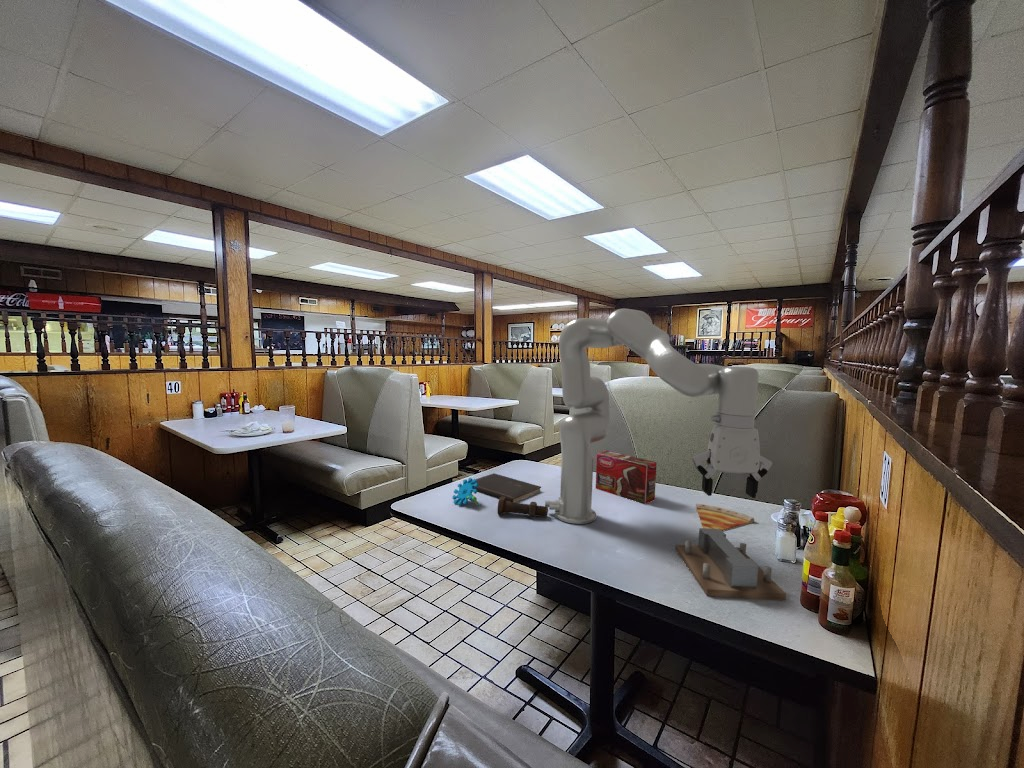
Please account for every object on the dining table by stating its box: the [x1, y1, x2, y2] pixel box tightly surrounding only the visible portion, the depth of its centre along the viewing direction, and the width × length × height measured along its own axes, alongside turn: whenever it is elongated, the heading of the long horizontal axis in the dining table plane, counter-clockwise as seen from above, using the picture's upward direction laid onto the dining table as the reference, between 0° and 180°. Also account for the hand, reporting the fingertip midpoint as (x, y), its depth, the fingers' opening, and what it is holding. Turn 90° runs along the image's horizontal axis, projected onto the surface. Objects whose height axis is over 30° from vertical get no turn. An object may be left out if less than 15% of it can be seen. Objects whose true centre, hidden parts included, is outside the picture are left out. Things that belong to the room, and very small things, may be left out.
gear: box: [452, 477, 481, 507], centre depth 137 cm, size 11×6×10 cm
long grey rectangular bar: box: [697, 527, 759, 589], centre depth 97 cm, size 5×18×5 cm, turn 177°
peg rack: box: [675, 539, 787, 601], centre depth 97 cm, size 16×20×4 cm
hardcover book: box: [472, 473, 542, 503], centre depth 150 cm, size 16×23×2 cm
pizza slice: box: [695, 503, 755, 531], centre depth 128 cm, size 16×22×2 cm
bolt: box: [496, 496, 549, 519], centre depth 127 cm, size 6×5×15 cm
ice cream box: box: [595, 450, 658, 505], centre depth 148 cm, size 20×6×13 cm, turn 42°
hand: (728, 494), depth 96 cm, fingers open, 9 cm apart
